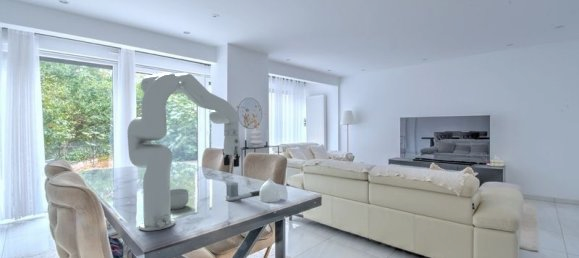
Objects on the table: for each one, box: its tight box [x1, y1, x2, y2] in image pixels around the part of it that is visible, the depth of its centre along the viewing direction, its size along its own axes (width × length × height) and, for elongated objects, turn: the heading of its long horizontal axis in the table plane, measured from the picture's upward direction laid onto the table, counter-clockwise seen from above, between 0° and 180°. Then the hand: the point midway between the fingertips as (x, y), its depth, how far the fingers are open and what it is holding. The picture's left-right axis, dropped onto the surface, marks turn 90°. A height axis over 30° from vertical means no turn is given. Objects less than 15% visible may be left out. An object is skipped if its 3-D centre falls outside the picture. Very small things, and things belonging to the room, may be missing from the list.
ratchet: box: [225, 189, 260, 202], centre depth 153 cm, size 7×23×5 cm, turn 132°
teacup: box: [170, 188, 189, 210], centre depth 134 cm, size 14×11×8 cm
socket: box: [225, 181, 239, 197], centre depth 148 cm, size 4×4×7 cm
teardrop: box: [258, 176, 281, 203], centre depth 147 cm, size 11×11×12 cm
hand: (231, 166), depth 147 cm, fingers open, 9 cm apart
